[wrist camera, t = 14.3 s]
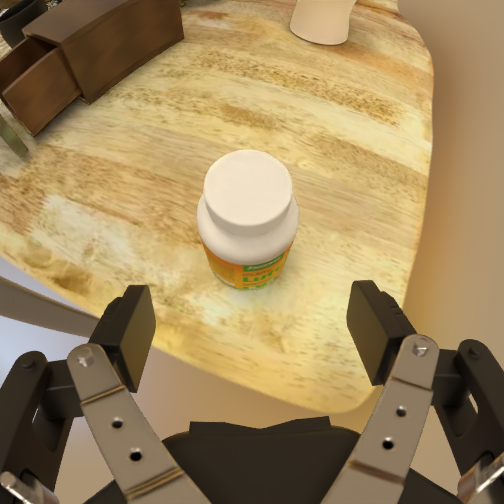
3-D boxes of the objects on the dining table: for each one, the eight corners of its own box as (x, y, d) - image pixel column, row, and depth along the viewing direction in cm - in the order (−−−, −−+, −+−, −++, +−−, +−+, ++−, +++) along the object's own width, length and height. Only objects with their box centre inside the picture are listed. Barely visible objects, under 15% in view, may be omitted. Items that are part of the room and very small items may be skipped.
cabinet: (89, 105, 28) (60, 42, 20) (46, 77, 31) (21, 29, 22) (184, 38, 32) (176, -22, 24) (127, 21, 34) (115, -28, 26)
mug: (86, 23, 35) (71, -21, 26) (28, 68, 32) (5, 24, 23) (62, 21, 37) (47, -18, 28) (10, 62, 33) (-11, 24, 24)
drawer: (-11, 195, 23) (-52, 158, 17) (-33, 152, 26) (-63, 119, 19) (113, 74, 29) (95, 24, 22) (70, 54, 31) (53, 14, 24)
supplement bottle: (244, 308, 22) (244, 268, 12) (193, 253, 23) (163, 182, 14) (299, 258, 23) (334, 189, 14) (248, 208, 24) (252, 120, 15)
